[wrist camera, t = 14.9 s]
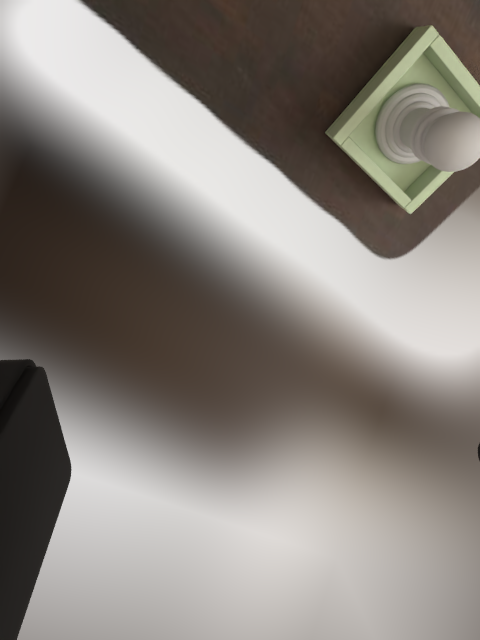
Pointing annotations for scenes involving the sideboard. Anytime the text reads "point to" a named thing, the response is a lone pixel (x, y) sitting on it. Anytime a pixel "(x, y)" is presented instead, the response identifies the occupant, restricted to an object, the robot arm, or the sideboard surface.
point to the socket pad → (396, 73)
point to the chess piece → (427, 130)
